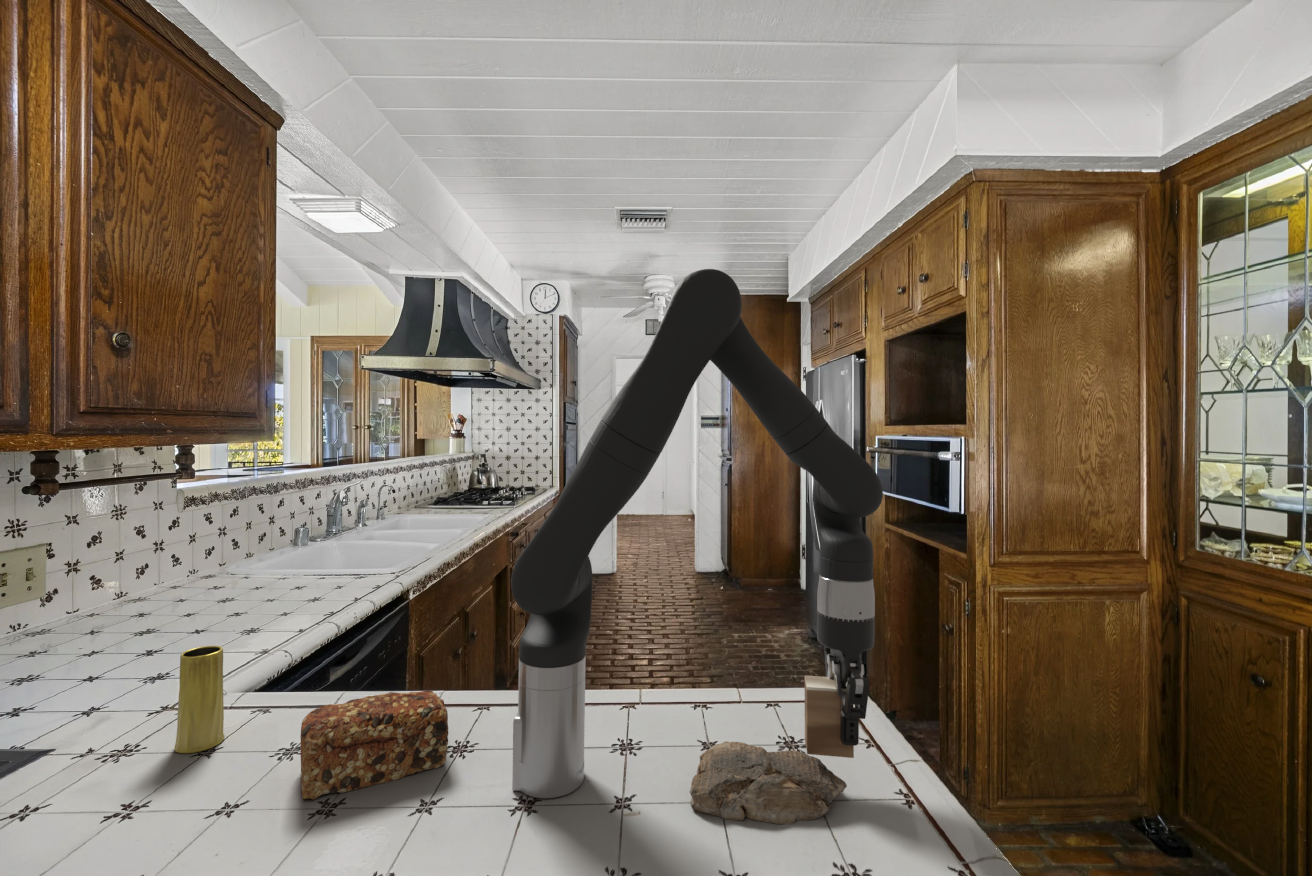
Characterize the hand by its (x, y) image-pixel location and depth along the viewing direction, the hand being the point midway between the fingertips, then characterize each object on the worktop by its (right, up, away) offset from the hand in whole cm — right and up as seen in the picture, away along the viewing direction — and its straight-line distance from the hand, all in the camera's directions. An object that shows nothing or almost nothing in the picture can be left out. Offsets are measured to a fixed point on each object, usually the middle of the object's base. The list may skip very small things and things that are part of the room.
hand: (844, 734), depth 80 cm
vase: (-96, -7, +10) cm, 97 cm away
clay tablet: (-10, -8, -1) cm, 13 cm away
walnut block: (-2, -2, 0) cm, 3 cm away
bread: (-66, -7, +4) cm, 67 cm away
